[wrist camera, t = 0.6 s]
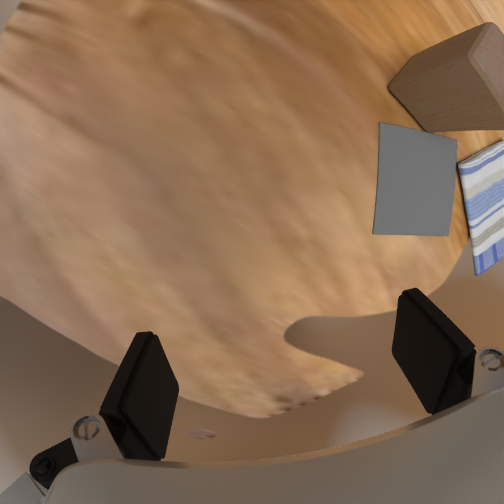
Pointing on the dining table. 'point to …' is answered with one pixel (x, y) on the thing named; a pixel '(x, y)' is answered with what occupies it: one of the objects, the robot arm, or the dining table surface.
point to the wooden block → (456, 82)
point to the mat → (414, 182)
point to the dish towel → (485, 204)
